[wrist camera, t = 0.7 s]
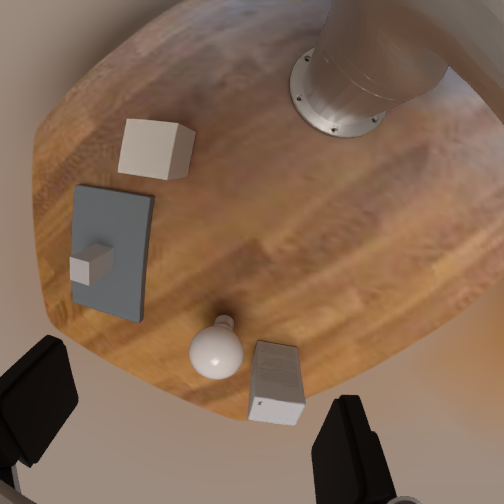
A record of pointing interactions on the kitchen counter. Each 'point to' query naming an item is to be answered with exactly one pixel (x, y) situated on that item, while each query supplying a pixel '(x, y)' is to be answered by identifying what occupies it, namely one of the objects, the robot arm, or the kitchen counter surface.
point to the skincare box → (276, 384)
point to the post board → (128, 244)
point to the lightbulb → (216, 350)
